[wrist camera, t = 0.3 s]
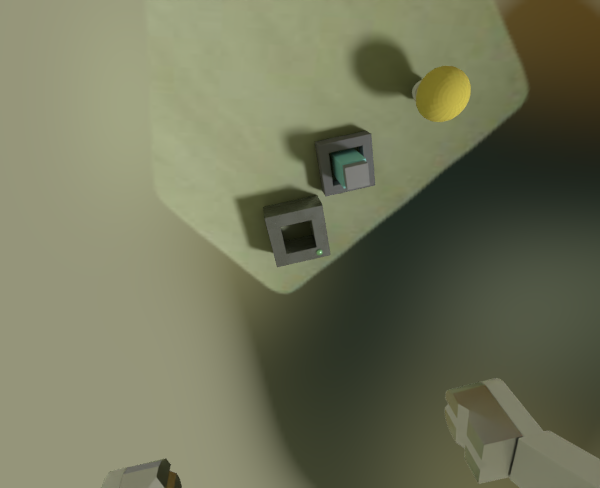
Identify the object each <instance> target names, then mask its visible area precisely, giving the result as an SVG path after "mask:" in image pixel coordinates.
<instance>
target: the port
mask: <svg viewBox="0 0 600 488" xmlns="http://www.w3.org/2000/svg"><path fill="white" fill-rule="evenodd" d="M263 208H264V218H265V222H266V226H267V230H268V234H269V238H270V242H271V245H272V249H273V253H274V257H275V261H276V265H277V267H280V266H284V265H289V264H293V263H298V262H302V261H306V260H311V259H315V258H319V257H324V256H328V255H330V249H329V243H328V237H327V231H326V225H325V219H324V212H323V206H322V204H321V202H320V200H319V198H318V196H317V195H316V196H311V197H307V198H302V199H298V200H293V201H289V202H284V203H280V204H275V205H271V206H266V207H263ZM305 221H310V226H311V231H312V235H310V236H306V237H301V238H297V239H292V240H288V241H284V239H283V235H282V230H281V227H283V226H287V225H291V224H296V223H300V222H305Z"/></svg>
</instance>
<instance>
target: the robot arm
mask: <svg viewBox="0 0 600 488" xmlns="http://www.w3.org/2000/svg"><path fill="white" fill-rule="evenodd" d="M445 399H446V400H447V402H448V405H447V406H446V407H445V418H446V421H447V426H448V428H449V430H450V433H451V434H452V436H453V438H454V440H455V442H456V443H457V444H459V445H460V446H462V447H463V448H465V457H464V459H465V460H466V462H467V464H468V466H469V468H470V469H471V471H472V473H473V475H474V477H475V479H476V480H477V482H478V484H480V483H484V482H489V481H494V480H499V479H503V478H508V477H510V480H511V481H512V482H514V483H515V484H516V485H517V486H519V487H520V488H600V459H598V458H597V457H595V456H593V455H591V454H589V453H588V452H586V451H584V450H582V449H581V448H579V447H577V446H575V445H574V444H572V443H570V442H568V441H567V440H565V439H563V438H561V437H560V436H558V435H556V434H554V433H552V432H551V431H545V432H544V431H543V430H542V429H541V428H540V426H539V425H538V424H537V423H536V421H535V420H534V419H533V418H532V416H531V415H530V414H529V413H528V411H527V410H526V409H525V408H524V407H523V405H522V404H521V403H520V402H519V400H518V399H517V398H516V397H515V395H514V394H513V393H512V392H511V390H510V389H509V388H508V387H507V385H506V384H505V383H504V382H503V381H502V380H500V379H499V378H494V379H491V380H486V381H483V382H477V383H473V384H469V385H466V386H462V387H458V388H454V389H450V390H448V391H446V394H445ZM170 466H171V464H170V463H169V462H168V460H167V459H161V460H157V461H153V462H149V463H145V464H140V465H136V466H132V467H126V468H122V469H118V470H114V471H110V472H109V473H108V475H107V476H106V478H105V479H104V482H103V484H102V487H101V488H182V485H181V482H180V478H179V476H178V475H177V473H175V472H172V471H170Z"/></svg>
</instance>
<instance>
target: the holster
mask: <svg viewBox="0 0 600 488" xmlns="http://www.w3.org/2000/svg"><path fill="white" fill-rule="evenodd" d="M315 146H316V152H317V159H318V165H319V171H320V177H321V184H322V190H323V193H324V194H325V196H329V195H334V194H338V193H343V192H347V191H352V190H356V189H361V188H365V187H370V186H374V185H375V177H374V164H373V151H372V138H371V133H369V132H367V131H362V132H358V133H353V134H349V135H344V136H340V137H335V138H330V139H326V140H321V141H317V142H315ZM353 147H359V153H360V154H361V155H362V156H364V157H365V158H366V162H367V163H368V169H369V181H370V185H369V186H365V187H360V188H356V189H351V190H347V189H346V188H343V187H342V185H341V184H340V183H339V181H338V180H332V174H331V167H330V160H329V153H330V152H335V151H339V150H344V149H349V148H353Z"/></svg>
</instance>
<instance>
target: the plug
mask: <svg viewBox="0 0 600 488" xmlns="http://www.w3.org/2000/svg"><path fill="white" fill-rule="evenodd" d="M331 158H332V165H333V172H334V176H335V177H336V179H337V180H338V181H339V183H340V184H341V185H342V187H343V188H346V189H347V190H351V189H356V188H360V187H365V186H369V185H370V181H369V169H368V163H367V162H366V158H365V157H364V156H362V155H361V154H360V153H359V152H358V151H356V150H355V149H354V148H351V149H347V150H342V151H338V152H333V153H331Z"/></svg>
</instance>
